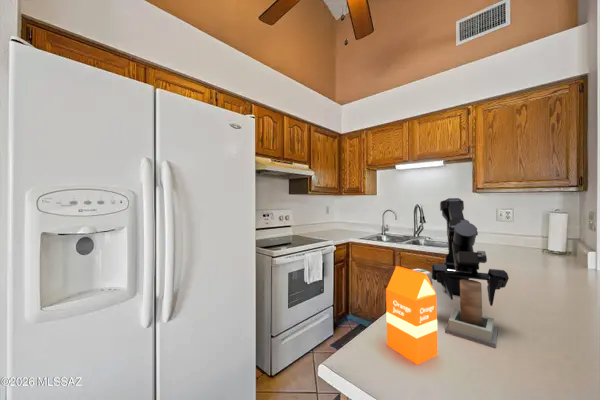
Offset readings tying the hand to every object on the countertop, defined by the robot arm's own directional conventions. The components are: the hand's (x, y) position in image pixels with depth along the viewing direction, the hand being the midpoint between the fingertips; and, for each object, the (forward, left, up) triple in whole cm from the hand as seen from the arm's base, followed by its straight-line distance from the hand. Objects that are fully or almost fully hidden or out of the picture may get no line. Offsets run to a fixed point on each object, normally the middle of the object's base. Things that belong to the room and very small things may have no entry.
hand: (471, 302), depth 67 cm
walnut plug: (0, 0, -7) cm, 7 cm away
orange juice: (-10, -20, -9) cm, 24 cm away
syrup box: (-14, +1, -9) cm, 17 cm away
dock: (0, 0, -8) cm, 8 cm away
